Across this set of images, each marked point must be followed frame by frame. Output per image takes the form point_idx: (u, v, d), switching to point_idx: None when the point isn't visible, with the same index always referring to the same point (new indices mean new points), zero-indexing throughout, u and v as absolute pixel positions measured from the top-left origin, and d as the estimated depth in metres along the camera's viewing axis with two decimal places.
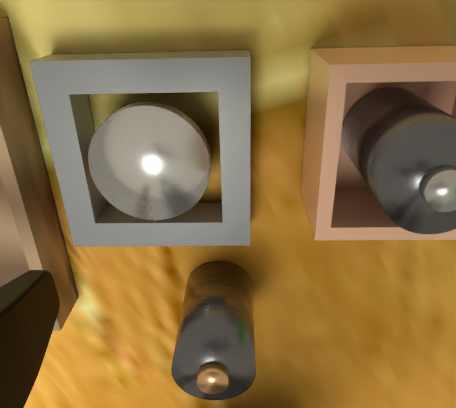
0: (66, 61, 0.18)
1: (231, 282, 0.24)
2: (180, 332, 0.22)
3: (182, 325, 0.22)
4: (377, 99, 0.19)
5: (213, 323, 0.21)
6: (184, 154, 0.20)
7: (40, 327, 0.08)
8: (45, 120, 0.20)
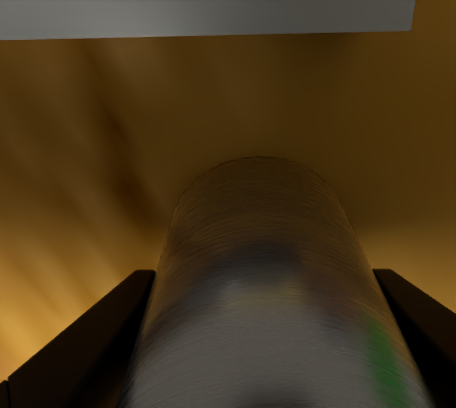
0: None
1: (311, 202, 0.08)
2: (128, 381, 0.05)
3: (138, 350, 0.05)
4: None
5: (279, 343, 0.04)
6: None
7: None
8: None
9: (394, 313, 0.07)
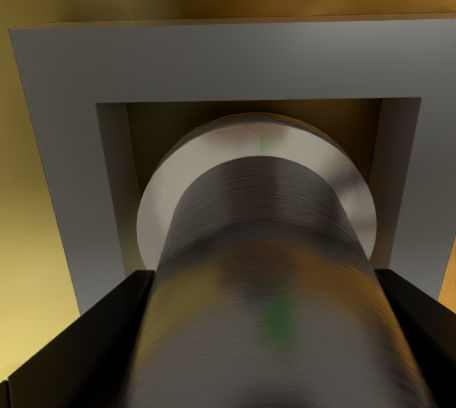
0: None
1: (311, 200, 0.08)
2: (127, 380, 0.05)
3: (138, 350, 0.05)
4: None
5: (281, 342, 0.04)
6: None
7: None
8: None
9: (394, 313, 0.07)
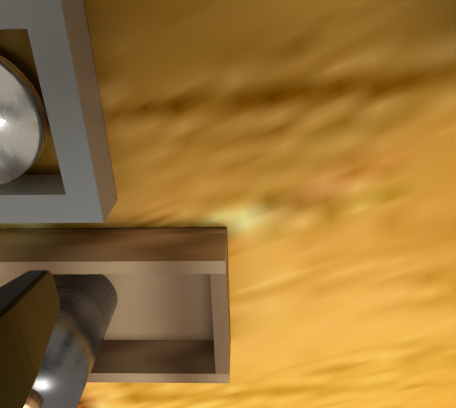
0: None
1: (76, 289, 0.21)
2: None
3: None
4: None
5: None
6: None
7: (40, 327, 0.08)
8: None
9: None
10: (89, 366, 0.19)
